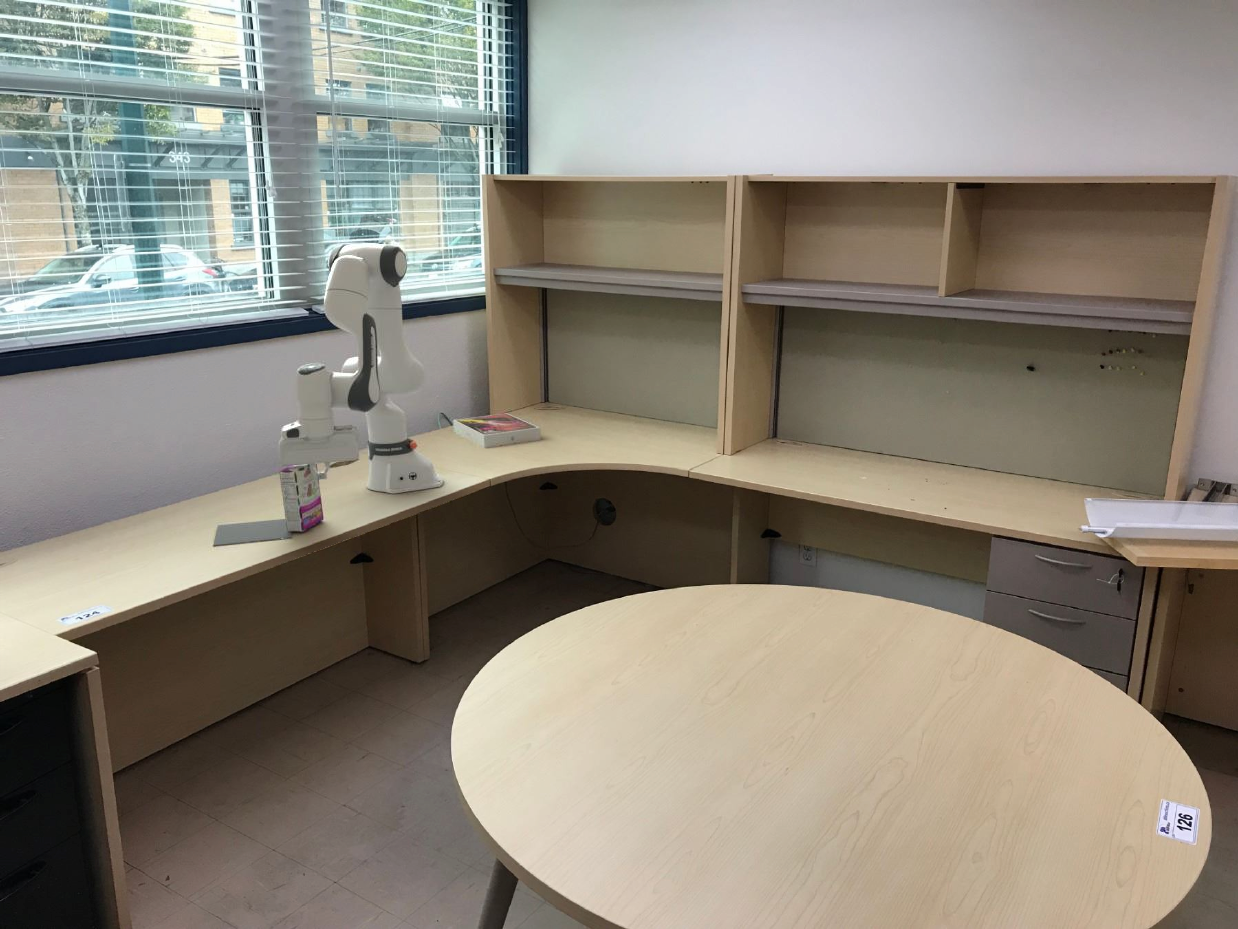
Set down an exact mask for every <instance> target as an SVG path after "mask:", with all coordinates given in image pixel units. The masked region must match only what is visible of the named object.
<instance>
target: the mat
mask: <svg viewBox="0 0 1238 929" xmlns="http://www.w3.org/2000/svg"><path fill="white" fill-rule="evenodd" d="M281 538H289V539H292V532H289V531H287V525H286V518H280V519H270V520H269V519H268V520H259V521H247V522H238V523H228V524H227V523H226V524H218V525H217V528H216V532H215V537H214V539H213V540H214V541H213V545H212V547H220V546H219V545H221V546H229V545H230V544H231V545H240V544H239V543H241V544H246V543H245V542H250V543H258V541H260V542H266V541H265V540H270V541H276V540H275V539H279V540H282V539H281Z"/></svg>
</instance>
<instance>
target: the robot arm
mask: <svg viewBox="0 0 1238 929" xmlns="http://www.w3.org/2000/svg"><path fill="white" fill-rule="evenodd" d="M327 267H328V272H329V275H328V279H327V282H326V288H325V293H324V300H323V313H324V314H325V316H326V318H327V319H328V320H329V322H330V323H332V325H334V326H335V327H337V328H338V329H340V330H342V331H344V332H346V333H349V334H351V335H353V336H354V337H355V339H356V341H357V342H356V343H357V356H354V357H350V358H348V359H347V360H345V362H343V363H344V364H343V365H342V368H341V371H340V372H339V371H337V372H335V371H332V370H329V369H328V367H327V366H326V364H324V363H320V362H311V363H307V364H303V365H301V366H300V367H298V368H297V370H296V372H295V383H294V386H295V387H294V388H295V391H294V392H295V401H296V404H297V407H298V410H297V411H298V412H297V420H295V421H294V422H291V423H288V424H285V425H283V426H282V427H281V428H280V429H281V430H280V435H281V437H280V439H279V441H278V450H277V455H278V456H277V457H278V460H277V461H278V464H279V465H280V466H282V467H290V466H292V465H303V464H310V469H311V470H312V471H313V472H314V474H315V480H317V479H318V480H319V481H320V480H327V479H328V475H327V473H328V472H329V469H330V467H331V463H337V462H338V463H339V462H349V461H352V462H353V461H357V460H358V459H359V458H360V450H359V449H360V448H359V445H358V441H359V439H360V430H359V429H358V428H357V427H356V426H353V425H352V424H347V425H335V417H334V411H333V410H332V409H335V410H347V411H350V410H351V411H355V412H361V413H365V417H366V424H367V432H368V440H367V455H368V456H367V457H368V460H369V467H368V468H369V471H368V479H367V484H366V488H367V489H369V490H371V491H376V492H383V493H384V492H385V493H387V494H400V493H406V492H412V491H419V490H426V489H433V488H440V487H442V485H443V484H444V479H443V477H442V475H441V474H439V473H437V472H436V469H435V467H434V464H433V462H432V460H430V459H429V458H428V457H426V456H425V455H424V454H422V453H420V452H418V451H417V450H416V449H417V448H418V444H417V442H416V441H414V439H412V438H410V437H408V436H407V434H408V433H407V432H408V431H407V419H406V417H407V416H406V414H405V412H404V411H403V409H401V408H400V407H399V406H398V405H396V404H395V403H393V401H392V400H391V399H390V396H389V395H393V396H394V395H395V396H406V395H413V394H417V393H419V392H421V390H422V389H423V388H424V386H425V385H426V380H427V373H426V372H427V371H426V369H425V367H424V365H423V364H422V362H421V361H419V360H418V359H417V358H416V357H415V356H414V354H412V351H411V350H410V349H409V347H408V345H407V343H406V340H405V337H404V329H403V328H404V327H403V309H402V308H403V306H402V294H401V287H400V282H402V280H404V278H405V276H406V273H407V269H408V261H407V257H406V254H405V252H404V250H403V249H402V247H400V246H399V245H398V246H397V245H394V244H389V243H388V244H382V243H381V244H380V243H369V242H366V243H359V244H357V243H356V244H340V245H336V246H335V247H333V248H332V250H331V251H330V252H329V255H328V258H327ZM378 351H379V354H380V356H379V355H378ZM315 463H317V464H324V469H323V471H318V472H317V471H316V469H315Z"/></svg>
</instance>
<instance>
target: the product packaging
mask: <svg viewBox="0 0 1238 929" xmlns="http://www.w3.org/2000/svg"><path fill="white" fill-rule="evenodd" d="M452 423H453V425H452V426H453V433H455V432H456V433H455V434H457V435H459V434H460V435H459V436H460V437H463V438H464V437H465V438H464V439H467V440H468V439H469V440H468V441H470V442H472V441H473V442H472V443H474V444H476V443H477V444H476V445H478V446H480V445H481V446H480V447H481V448H483V449H488V448H495V447H501V446H500V445H502V446H508V445H514V443H516V444H521V443H529V441H530V442H536V441H541V427H540V426H537V425H535V424H533V423H530V422H528V421H526V420H523V419H521V418H519V417H516V416H515V415H512V414H509V413H506V412H505V413H499V414H490V415H484V416H483V415H481V416H474V417H468V418H460V419H453V420H452Z"/></svg>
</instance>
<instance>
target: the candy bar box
mask: <svg viewBox="0 0 1238 929" xmlns="http://www.w3.org/2000/svg"><path fill="white" fill-rule="evenodd" d="M315 469H316V471H317V472H319V471H318V463H315ZM278 473H279V479H280V487H281V494H282V500H283V509H284V518H285V519H286V525H287V531H289V532H291V533H293V532H295V533H300V532H301V533H303V532H305V531H307V530H309V529H311V528H312V527H313V526H316V525H317V524H319V523H320V522H322V521H324V518H325V517H324V512H323V511H324V510H323V503H322V497H321V494H322V493H321V488H320V486H321V485H320V480H318V479H317V480H315V474H314V472H313V471H312V470H311V469H310V464H303V465H290V466H286V468H283V469H282V470H279V471H278Z"/></svg>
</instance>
